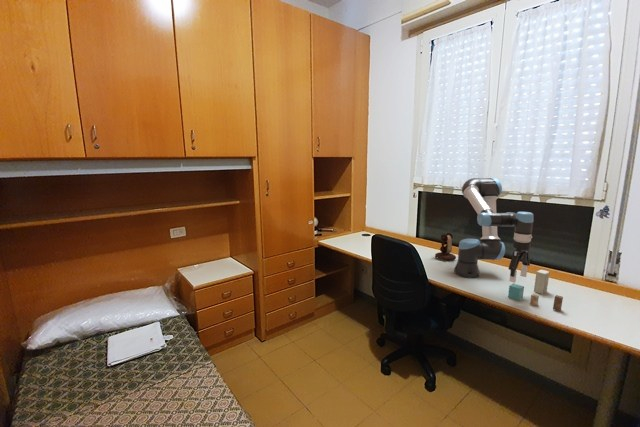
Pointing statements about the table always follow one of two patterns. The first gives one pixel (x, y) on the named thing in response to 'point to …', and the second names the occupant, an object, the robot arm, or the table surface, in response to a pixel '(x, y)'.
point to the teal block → (516, 291)
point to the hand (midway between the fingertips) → (517, 279)
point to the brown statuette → (446, 248)
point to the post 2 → (557, 303)
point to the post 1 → (534, 299)
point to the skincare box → (541, 281)
